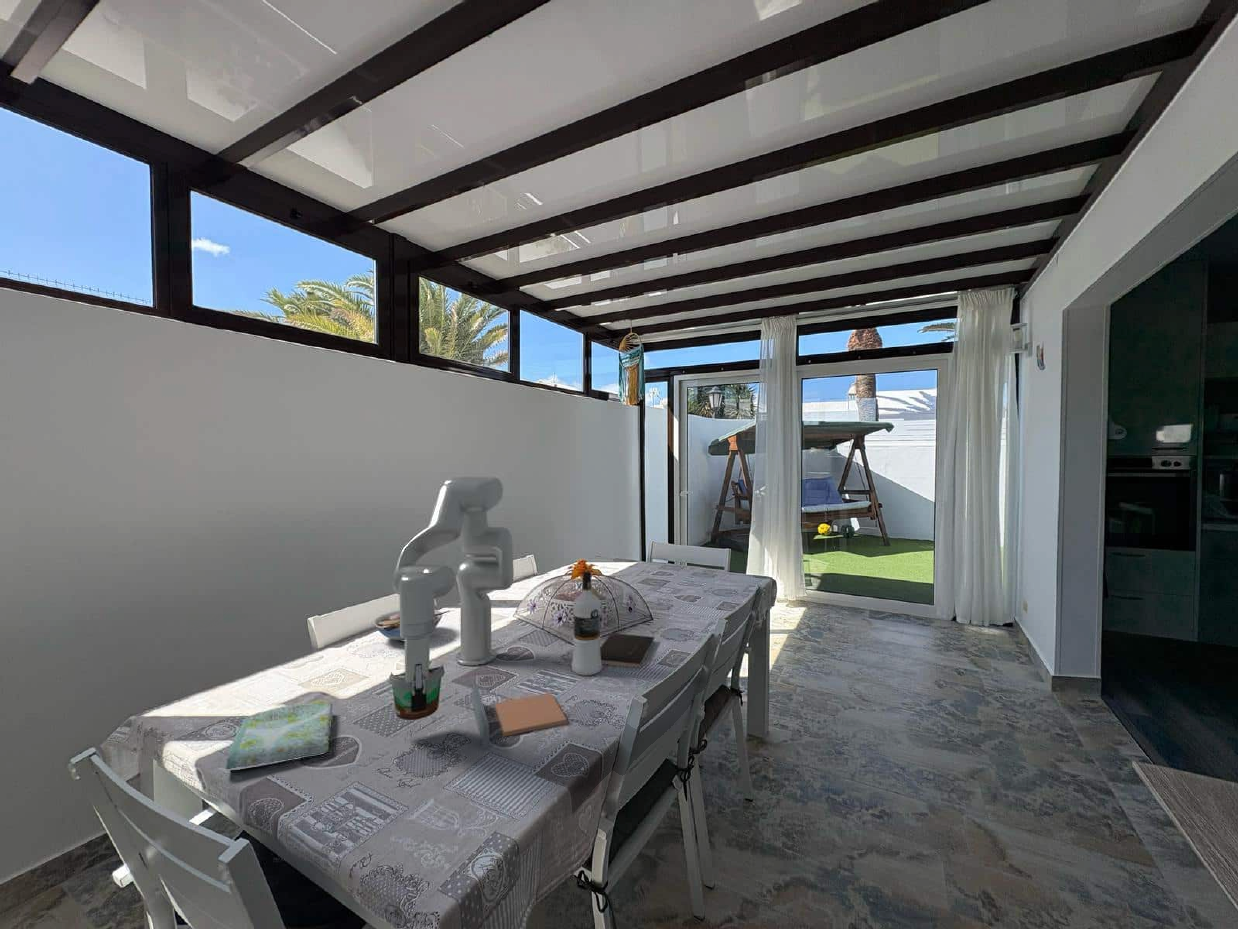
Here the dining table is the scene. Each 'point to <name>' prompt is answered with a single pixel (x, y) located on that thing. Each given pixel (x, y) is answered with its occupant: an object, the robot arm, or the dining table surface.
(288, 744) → the towel
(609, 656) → the hardcover book
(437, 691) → the food container
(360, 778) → the dining table surface
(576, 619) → the vodka
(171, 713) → the dining table surface
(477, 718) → the acrylic wall
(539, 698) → the mat
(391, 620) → the ramen bowl
